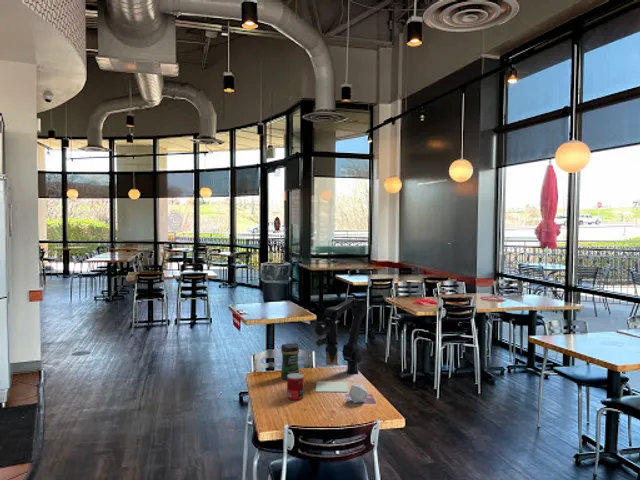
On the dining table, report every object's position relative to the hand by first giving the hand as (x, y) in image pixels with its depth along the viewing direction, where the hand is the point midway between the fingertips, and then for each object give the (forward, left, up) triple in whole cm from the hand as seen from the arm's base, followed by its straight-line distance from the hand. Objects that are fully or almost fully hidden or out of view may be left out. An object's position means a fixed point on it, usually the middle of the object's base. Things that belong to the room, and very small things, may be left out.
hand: (331, 361), depth 250 cm
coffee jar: (-4, -23, -11) cm, 26 cm away
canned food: (+26, -17, -11) cm, 33 cm away
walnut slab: (0, 0, -2) cm, 2 cm away
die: (+30, +13, -11) cm, 34 cm away
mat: (+11, 0, -10) cm, 15 cm away
